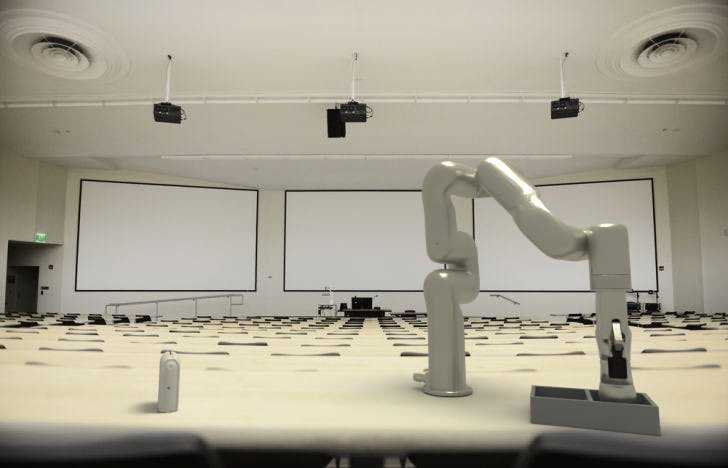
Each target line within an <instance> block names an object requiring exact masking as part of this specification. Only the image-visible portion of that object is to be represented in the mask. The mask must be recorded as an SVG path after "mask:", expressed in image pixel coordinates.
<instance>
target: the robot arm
mask: <svg viewBox="0 0 728 468" xmlns="http://www.w3.org/2000/svg"><path fill="white" fill-rule="evenodd" d="M421 185H422V186H421V199H422V206H423V214H424V231H425V232H424V233H425V234H424V235H425V247H426V253H427V254H426V255H427V257H428V258H429V260H430V261H431V262H433V263H436V264H441V265H447V266H448V268H438V269H434V270H432V271H430V272H429V273H428V274H427V275H426V277H425V278H424V280H423V284H422V285H423V286H422V292H423V297H424V303H425V306H426V307H425V308H426V317H427V318H426V319H427V322H426V323H427V350H428V351H427V353H428V354H427V355H428V358H427V360H428V361H427V363H428V365H427V366H428V371H427V372H425V373H420V372H419V373H418V372H417V373H416V372H414V373H412V379H413V381H414V382H418V383H419V382H420V383H421V382H422V383H424V385H422V391H423V392H424V393H426V394H429V395H433V396H440V397H462V396H463V397H464V396H467V395H468V396H469V395H471V394H473V387H472V386H471V385H469V384H467V376H466V375H467V372H466V369H467V368H466V367H467V366H466V341H465V339H466V338H465V337H466V335H465V320H464V315H463V311H462V308H461V305H467V304H470V303H473V301H475V300H476V299H477V297H478V296H479V293H480V289H481V281H480V279H481V278H480V265H479V263H480V262H479V253H478V246H477V244H476V242H475V239H474V238H473V237H472V236H471V235H470V234H469V233H467V232H465V231H461V230H459V229H458V225H457V213H456V212H457V211H456V208H455V206H454V203H453V200H452V199H451V196H452V195H453V196H456V197H461V198H464V199H483V198H485V199H486V198H492V199H494V200H495V201H496V202H497V203H498V205H500V207H502V208H503V209H504V210H505V211H506V212H507V213H508V214H509V215H510V216H511V218H512V220H513V221H514V223H515V225H516V226H517V228H518V231H520V232H521V233H522V234H523V236H525V238H526V239H528V241H530V243H532V244H533V245H534V246H535V247H536V248H537V249H538V250H539V251H540V252H542V254H544V255H545V256H547V257H549V258H551V259H553V260H558V261H565V262H566V261H567V262H582V261H587V260H588V272H589V275H588V276H589V291H590V292H595V328H596V327H598V332H599V339H600V340H601V341H602V342H604V339H608V351H609V357H607V359H608V376H609V378H612V379H627V378H628V376H627V360H626V355H625V346H624V342H627V341H628V327H629V320H628V319H629V317H628V316H629V315H628V304H627V303H628V302H627V292H633V286H632V274H631V272H632V270H631V256H630V241H629V239H630V238H629V230H628V228H627V226H626V225H624V224H622V223H619V222H618V223H617V222H616V223H614V222H612V223H611V222H610V223H609V222H608V223H599V224H594V225H590V226H589V227H588V228H583V227H575V226H571V225H569V224H566V223H564V222H563V221H562V220H561V219H559V218H558V217H557V216H556V215H555V214H554V213H553V212H552V211H550V210H549V209H548V208H547V207H546V206H545V205H544V204H543V202H542V201H541V199H540V198H541V192H540V190H539V188H537V187H536V186H535V185H534V184H532V182H531V181H529V180H528V179H527V178H526V177H525V175H524V173H523V170H522V168H521V167H520V166H519V165H517V164H515V162H512V161H509V160H508V159H507V160H506V159H504V158H502V157H499V156H488V157H485V158H483V159H482V160H480V161H479V162H478V164H477V165H476V167H475V168H474V167H471V166H468V165H465V164H462V163H460V162H456V161H451V160H442V161H439V162H436V163H435V164H433V165H432V166H431V167H430V168H429V169H428V171H427V172H426V173H425V176H424V178H423V179H422V184H421ZM623 334H625V338H624V337H623ZM610 337H614V341H611V340H610ZM624 339H625V341H624ZM612 344H613V345H612Z"/></svg>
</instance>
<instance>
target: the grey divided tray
mask: <svg viewBox="0 0 728 468" xmlns="http://www.w3.org/2000/svg"><path fill="white" fill-rule="evenodd" d="M636 395H637V400H636V404H627V403H614V402H601V401H600V397H599V389H595V388H594V389H592V388H578V387H563V386H547V385H535V384H532V385H531V388H530V395H529V402H530V404H529V405H530V408H529V409H530V423H531V424H536V425H547V426H557V427H567V428H568V427H569V428H577V429H586V430H587V429H588V430H596V431H597V430H598V431H607V432H608V431H609V432H611V431H612V432H618V433H628V434H629V433H631V434H637V435H638V434H639V435H641V434H642V435H650V436H660V437H661V436H662V433H661V431H662V430H661V422H660V421H661V420H660V409H659V408H660V407H659V406H658V405H657V403H655V402H654V401H653V400H652V398H651V397H650V396H649V395H648V393H646V392H639V391H638V392H637V391H636Z"/></svg>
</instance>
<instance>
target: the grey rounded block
mask: <svg viewBox="0 0 728 468" xmlns="http://www.w3.org/2000/svg"><path fill="white" fill-rule="evenodd" d="M179 356H180V355H179V354H178V353H177V352H176V351H165V352H164V353H162V355H161V356H160V358H159V369H158V370H159V371H158V372H159V373H158V391H157V392H158V395H157V407H158V411H159V413H162V412H169V413H172V412H171V411H174V412H176V411H177V410H178V409H179V402H180V380H181V359H180V357H179Z"/></svg>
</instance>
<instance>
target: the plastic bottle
mask: <svg viewBox="0 0 728 468" xmlns="http://www.w3.org/2000/svg"><path fill="white" fill-rule="evenodd" d="M594 335H595V341H596V345H597V349H598V357H599V365H600V367H599V368H600V371H599V381H600V382H599V383H598V384H599V385H598V390H599V397H600V401H601V402H614V403H627V404H636V400H637V395H636V392H637V390H636V387H635V385H634V379H633V373H632V367H631V366H632V365H631V364H632V363H631V359H632V356H631V355H632V354H631V351H632V337H633V333H632V330H631V328H630V327H629V326H628V341H627V342H624V346H625V355H626V360H627V376H628V378H627V379H612V378H609V376H608V359H607V357H609V351H608V339H604V342H602V341H601V340H600V339H599V332H598V327H596V326H595V330H594ZM623 337H624V338H625V334H623ZM610 340H611V341H614V337H610ZM624 341H625V339H624ZM612 345H613V344H612Z"/></svg>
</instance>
